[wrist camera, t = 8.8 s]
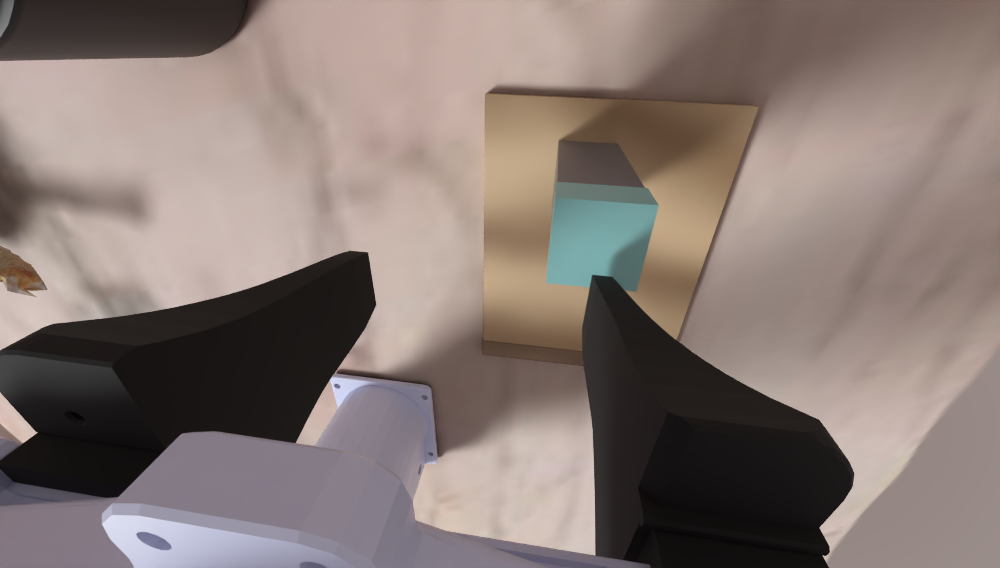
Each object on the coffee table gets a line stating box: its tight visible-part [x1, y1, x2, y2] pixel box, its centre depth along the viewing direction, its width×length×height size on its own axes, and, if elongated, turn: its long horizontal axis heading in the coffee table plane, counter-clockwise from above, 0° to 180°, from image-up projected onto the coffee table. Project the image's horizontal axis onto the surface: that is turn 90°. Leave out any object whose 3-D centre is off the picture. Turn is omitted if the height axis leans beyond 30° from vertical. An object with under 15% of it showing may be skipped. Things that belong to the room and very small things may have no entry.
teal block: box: [546, 140, 659, 292], centre depth 15 cm, size 3×3×9 cm
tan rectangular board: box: [482, 93, 759, 366], centre depth 22 cm, size 16×12×1 cm
